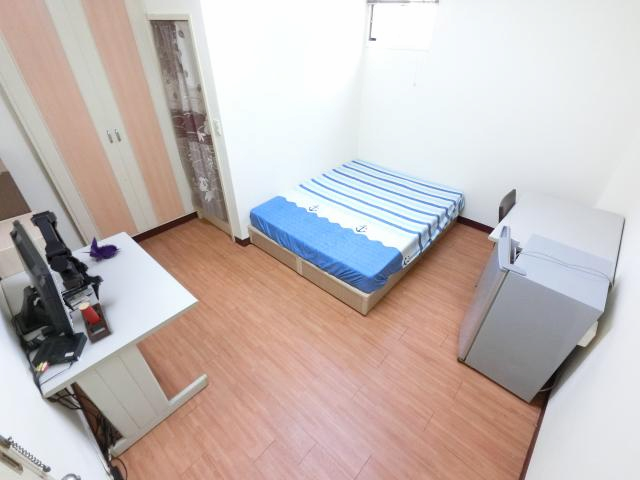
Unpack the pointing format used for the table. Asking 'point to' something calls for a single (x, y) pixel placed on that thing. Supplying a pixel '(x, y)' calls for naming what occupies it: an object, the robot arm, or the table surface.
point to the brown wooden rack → (97, 325)
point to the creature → (101, 250)
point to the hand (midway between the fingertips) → (86, 305)
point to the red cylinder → (89, 313)
